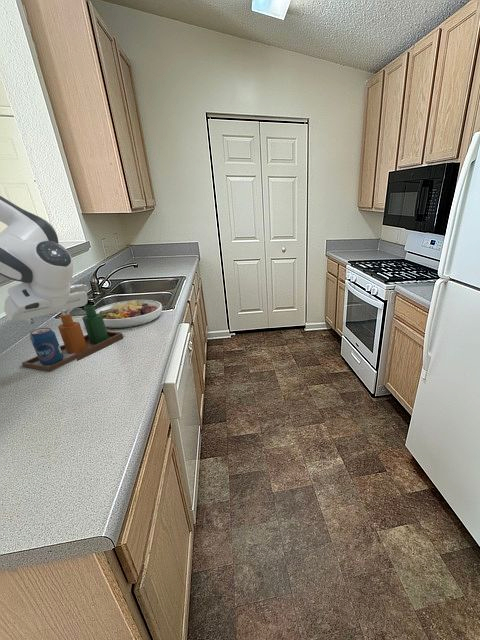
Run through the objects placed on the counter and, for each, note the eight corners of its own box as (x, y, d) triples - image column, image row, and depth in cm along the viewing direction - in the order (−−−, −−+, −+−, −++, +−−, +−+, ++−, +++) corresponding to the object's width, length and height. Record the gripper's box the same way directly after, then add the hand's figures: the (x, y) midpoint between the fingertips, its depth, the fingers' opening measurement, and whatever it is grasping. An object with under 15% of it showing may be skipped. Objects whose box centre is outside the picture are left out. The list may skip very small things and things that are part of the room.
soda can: (39, 368, 113) (25, 335, 107) (43, 360, 118) (30, 328, 113) (62, 364, 115) (50, 332, 110) (66, 356, 121) (54, 325, 115)
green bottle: (90, 346, 130) (78, 309, 123) (91, 340, 135) (79, 305, 128) (109, 343, 133) (98, 307, 126) (109, 337, 138) (99, 302, 131)
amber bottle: (67, 357, 121) (52, 318, 115) (69, 350, 127) (55, 313, 120) (87, 353, 124) (74, 315, 117) (88, 347, 129) (76, 310, 123)
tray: (50, 374, 110) (48, 367, 109) (24, 368, 114) (21, 362, 113) (123, 338, 137) (122, 333, 136) (100, 335, 141) (98, 329, 140)
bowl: (79, 326, 151) (73, 309, 147) (130, 306, 176) (127, 292, 172) (129, 334, 141) (125, 316, 138) (176, 312, 166) (173, 297, 163)
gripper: (83, 274, 100) (78, 301, 110) (-1, 289, 85) (2, 318, 95) (95, 291, 100) (88, 316, 109) (13, 309, 85) (14, 336, 94)
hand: (48, 317), depth 102 cm, fingers open, 8 cm apart
